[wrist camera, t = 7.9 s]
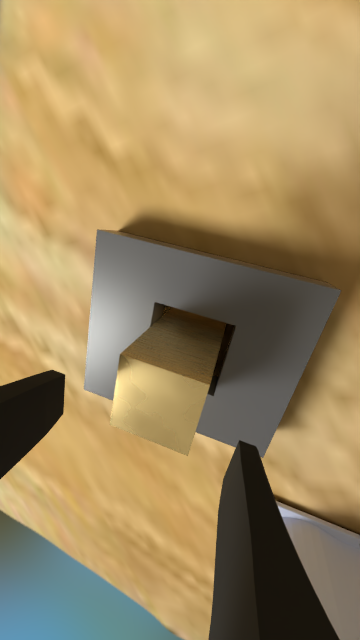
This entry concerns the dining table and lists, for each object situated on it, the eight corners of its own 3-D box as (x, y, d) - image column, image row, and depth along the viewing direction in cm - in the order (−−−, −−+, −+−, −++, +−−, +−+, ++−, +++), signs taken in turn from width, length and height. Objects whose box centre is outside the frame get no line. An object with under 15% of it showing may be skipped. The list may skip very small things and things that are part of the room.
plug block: (226, 322, 17) (209, 385, 10) (211, 370, 19) (187, 455, 11) (172, 306, 18) (119, 354, 10) (162, 353, 19) (109, 424, 12)
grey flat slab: (327, 282, 15) (341, 290, 12) (261, 431, 19) (263, 457, 17) (117, 230, 17) (97, 229, 15) (101, 373, 21) (83, 389, 19)
